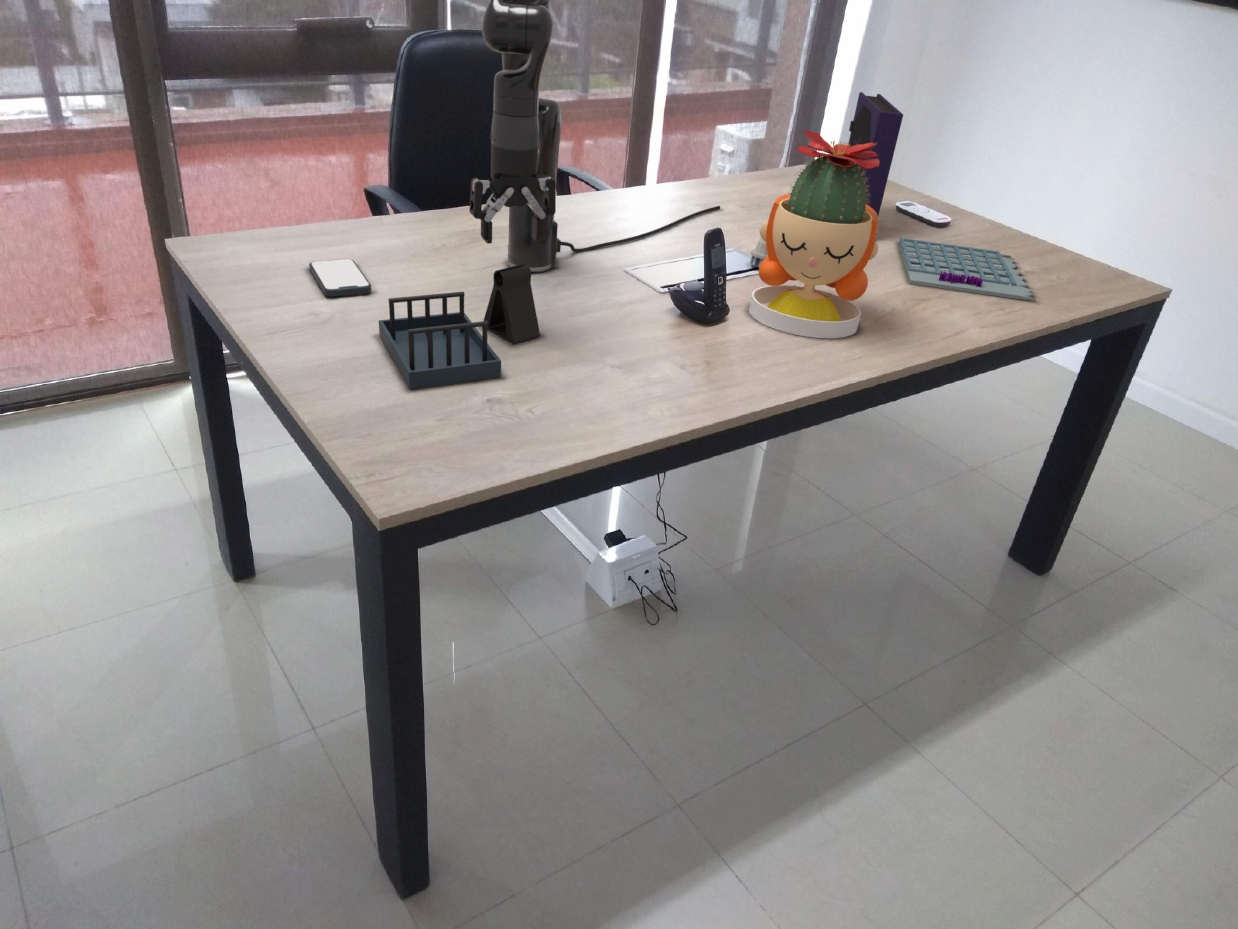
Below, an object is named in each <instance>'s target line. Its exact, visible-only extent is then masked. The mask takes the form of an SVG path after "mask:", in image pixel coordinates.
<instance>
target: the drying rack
mask: <svg viewBox="0 0 1238 929" xmlns="http://www.w3.org/2000/svg"><path fill="white" fill-rule="evenodd" d="M465 294H466V293H465V291H454V292H444V293H432V294H421V295H412V296H401V297H389V298H388V299H387V300H388V310H389V311H388V312H389V319H379V320H378V331H379V332H378V335H379V338H380V340H381V341H382V343H383V345H384V347H385V348H386V351H387V353H388V354H389V355H390V357H391V359H392V361H393V363H394V364H395V367H396V368H397V370H398V372H399V373H400V375H401V377H402V379H403V380H404V383H405V384H406V385H407V388H408V389H409V390H416V389H423V388H424V389H425V388H432V387H439V386H444V385H445V386H446V385H454V384H460V383H468V382H476V381H483V380H491V379H498V378H501V377H502V360H501V359H500V357H499V356H498V355H497V353H496V352H495V351H494V349H493V348H492V347H491V346H490V344H489V343H488V330H487V328H488V322H487V321H484V320H482V321H472V320H470V318H469V316H468V315H467V314H466V313H465ZM449 298H450V299H451V298H459V299H458V300H459V303H458V304H459V311H456V312H448V299H449ZM430 300H441V304H442V305H441V307H442V308H441V309H442V313H437V314H431V303H430ZM419 301H424V315H418V316H413V302H419ZM399 303H406V308H407V309H406V310H407V312H406V313H407V317H399V318H396V317H395V304H399ZM479 327H480V328H481V330H482V333H481V332H480V331H479V329H478V328H479Z"/></svg>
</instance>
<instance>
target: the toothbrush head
mask: <svg viewBox="0 0 1238 929" xmlns="http://www.w3.org/2000/svg"><path fill="white" fill-rule="evenodd" d="M750 255H751V256H750V260H749V263H750V265H752V266H753V267H757V268H759V267H760V264H761V263H762V261H763V260H764V259H765V258H766V257H768V253H767V248H766V241H764V240H763V239H762V238H761V237H760V238H759V240H757V243H756V246H755V249H754V248H753V249H751V250H750Z"/></svg>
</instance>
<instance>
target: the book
mask: <svg viewBox="0 0 1238 929" xmlns="http://www.w3.org/2000/svg"><path fill="white" fill-rule="evenodd" d="M903 118H904V114H903V112H901V111H900V110H899V109H898V108H897V107H896V106H894V104H892V103H891V102H890V101H888V99H887V98H885V97H884V96H883V95H882V94H881V93H877V94H876V96H875V95H873V96H872V95H866V94H865V93H864V92H863V91H859V92H858V97H857V102H856V107H855V111H854V115H853V120H850V122H849V128H848V131H849V132H850V135H849V138H848V142H847V145H849V144H850V147H851V146H855V145H863V144H866V143H877V145H876V146H875V147H873V148H872V149H870V150H868V151H871V152H876V155H878V156H877V157H872V158H866V159H862V160H869V159H879V167H875V168H871V169H868V168H863V167H861V166H859V165H858V164H855V165H856V166H857V167H858V166H859V167H860V168H861V169H859V170H860V171H861V173H862V171H863V172H864V174H862V175H863V178H864V179H866V178H868V179H866V180H865V181H866V182H865V185H867V186H868V187H867V186H866V191H867V192H866V194H868V193H869V194H870V195H871V197H869V196H870V195H868V196H866V198H867V200H869V201H867V200H866V201H867V202H868V203H869V204H868V203H866V205H868V206H870V207H871V208H872V209H873V210H874V211H875V212H876V213H877V215H878V217H879V215H880V211H881V207H882V203H883V198H884V194H885V191H886V188H887V184H888V179H889V175H890V171H891V167H892V163H893V159H894V155H895V151H896V146H897V142H898V139H899V135H900V130H901V127H902V122H903ZM869 179H870V180H869ZM867 181H868V183H867ZM869 185H870V186H869ZM867 188H868V189H867ZM868 190H870V191H868Z"/></svg>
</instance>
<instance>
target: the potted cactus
mask: <svg viewBox="0 0 1238 929" xmlns="http://www.w3.org/2000/svg"><path fill="white" fill-rule="evenodd" d="M802 133H804V135H805V137H806V138H808V139H809V140H810V141H809V142H808V143H806V144H807V147H806V146H804V145H803V146H802V145H800V146H798V147H797V149H796V150H797V151H798V152H800V153H802V154H803V155H806V156H807V157H811V158H810V159H809V160H806V161H805V160H804V163H803V164H804V165H803V167H801V171H800V170H797V171H796V173H795V175H796V176H795V178H794V179H793V180H792V181H791V182H792V183H794V186H793V185H792V184H789V187H790V188H789V191H791V192H788V193H785V194H783V195H781V196H779V197H778V198H776V199H775V200H774V202H773V205H772V207H771V211H770V212H769V215H768V216H769V217H768V220H767V221H764V222H763V223H762V224H761V225H760V228H759V235H760V238H762V239H763V240H764V241H766V248H767V253H768V257H766V258H765V259H764V260H763V261H762V263H761V264H760V267H758V275H759V278H760V280H761V282H762V283H764V284H765V286H761V287H760V286H759V287H758V288H755V289H754V290H753V291H752V292H751V297H750V302H749V308H748V312H749V315H750V316H751V317H752V318H753V319H754V320H755V321H757V322H759V323H760V324H762V325H765V326H766V327H769V328H772V329H775V330H777V331H780V332H783V333H786V334H790V335H794V336H795V335H796V336H801V337H806V338H817V339H841V338H847V337H850V336H852V335H854V334H855V333H857V331H858V327H859V323H860V321H861V320H860V319H861V315H862V310H861V309H860V307H859V306H858V305H857V304H855V303H854V302H852V301H856V300H858V299H859V298H861V297H862V296H864V294H865V292H866V291H867V288H868V286H869V279H868V276H867V273H866V272H865V270H864V269H865V268H866V267H867V265H868V263H869V261H870V260H873V259H874V258H875V257H876V256H877V255H878V252H879V244H878V242H877V241H876V238H877V234H878V227H879V226H878V225H879V216H878V215H877V213H876V212H875V211H874V210H873V209H872V208H871V207H870V206H868V205H866V203H868V202H867V201H869V200H867V198H866V196H868V195H870V194H869V193H868V194H866V192H867V191H866V186H867V185H865V182H866V181H865V180H866V179H868V178H866V179H864V178H863V175H862V174H864V172H863V171H862V173H861V171H860V170H859V169H861V168H860V167H859V166H861V167H863V168H868V169H871V168H875V167H879V159H869V160H862V159H866V158H872V157H877V156H878V155H876V152H871V151H868V150H870V149H872V148H873V147H875V146H876V145H877V143H866V144H863V145H855V146H851V147H850V144H849V145H848V141H846V142H845V141H843V143H842V140H840V141H839V143H836V144H835V142H836V140H831V141H830V143H829V142H827V141H826V139H824V138H823V137H822V136H821V134H820V133H819V132H815V131H811V130H808V129H804V130H803V131H802ZM809 161H810V162H809ZM855 164H858V165H859V166H858V167H857V166H856V165H855ZM869 180H870V179H869ZM867 183H868V181H867ZM869 186H870V185H869ZM867 187H868V186H867ZM867 189H868V188H867ZM868 191H870V190H868ZM869 197H871V195H870V196H869ZM866 200H867V201H866ZM868 204H869V203H868ZM789 281H792V282H793V281H794V282H795V281H798V282H800V283H802V284H804V285H803V286H797V285H787V284H786V283H787V282H789ZM785 284H786V285H785ZM824 285H825V286H827V287H828V288H832V289H834V290H835V292H836V294H837V295H836V294H834V293H831V292H829V291H824V290H820V289H816V286H824Z"/></svg>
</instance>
